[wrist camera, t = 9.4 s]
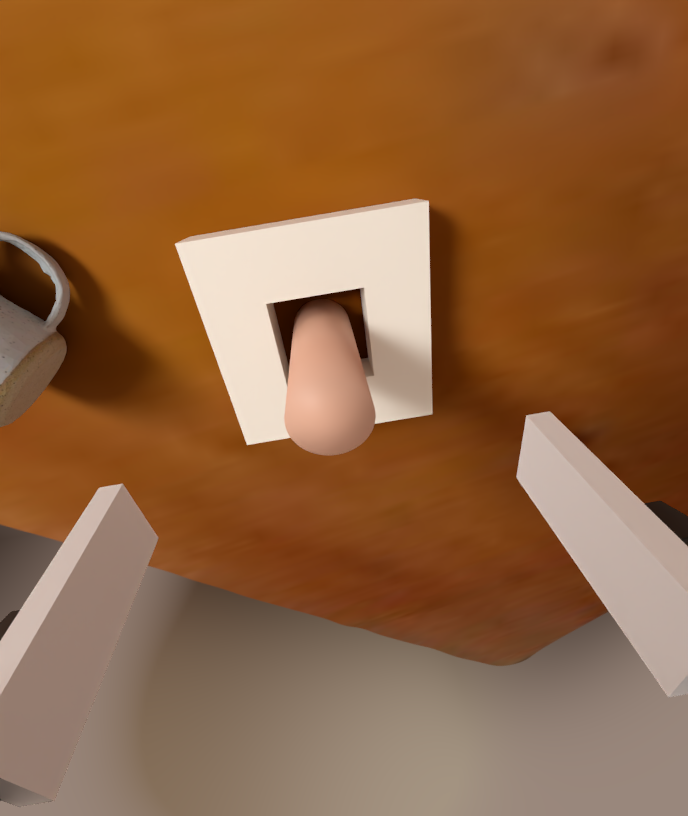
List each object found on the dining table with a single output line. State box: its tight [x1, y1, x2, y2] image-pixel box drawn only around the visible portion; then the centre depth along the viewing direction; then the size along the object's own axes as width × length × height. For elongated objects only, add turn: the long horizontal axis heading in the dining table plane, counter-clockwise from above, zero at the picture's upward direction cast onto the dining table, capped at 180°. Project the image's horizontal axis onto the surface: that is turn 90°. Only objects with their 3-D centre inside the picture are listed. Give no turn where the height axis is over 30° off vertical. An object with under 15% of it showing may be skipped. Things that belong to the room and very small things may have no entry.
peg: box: [284, 299, 376, 455], centre depth 21 cm, size 4×4×12 cm
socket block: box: [175, 199, 432, 445], centre depth 25 cm, size 14×14×3 cm
